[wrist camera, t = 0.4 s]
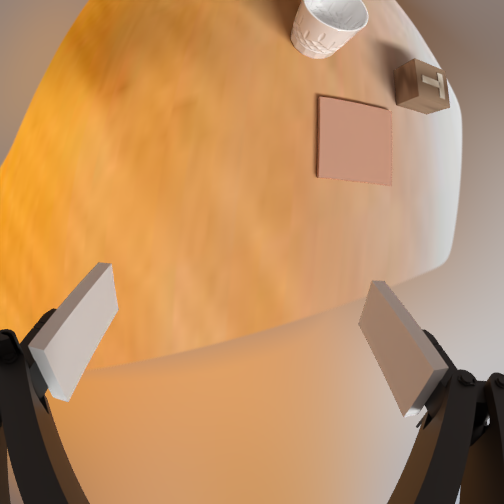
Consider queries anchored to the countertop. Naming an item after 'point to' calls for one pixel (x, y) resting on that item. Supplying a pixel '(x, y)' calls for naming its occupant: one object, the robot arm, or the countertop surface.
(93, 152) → the countertop surface
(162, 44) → the countertop surface
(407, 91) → the letter block
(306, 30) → the white cup
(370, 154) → the coaster
